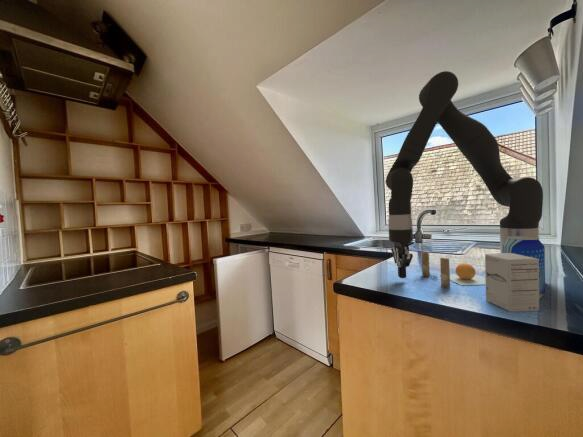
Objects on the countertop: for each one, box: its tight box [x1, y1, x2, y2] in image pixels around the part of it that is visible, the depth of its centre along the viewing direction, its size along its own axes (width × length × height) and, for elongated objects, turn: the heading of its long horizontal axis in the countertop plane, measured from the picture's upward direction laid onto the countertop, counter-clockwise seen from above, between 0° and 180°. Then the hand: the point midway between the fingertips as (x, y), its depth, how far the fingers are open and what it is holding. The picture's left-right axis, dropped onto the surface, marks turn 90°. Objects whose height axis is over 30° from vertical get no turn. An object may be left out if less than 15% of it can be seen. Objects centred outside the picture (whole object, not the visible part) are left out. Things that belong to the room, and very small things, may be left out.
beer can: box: [502, 236, 546, 299], centre depth 67 cm, size 8×8×16 cm
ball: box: [455, 262, 476, 280], centre depth 82 cm, size 6×6×6 cm
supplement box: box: [484, 253, 540, 313], centre depth 60 cm, size 7×7×13 cm
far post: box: [420, 250, 431, 278], centre depth 89 cm, size 2×2×9 cm
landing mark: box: [439, 273, 486, 287], centre depth 82 cm, size 12×12×1 cm
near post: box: [439, 257, 451, 289], centre depth 76 cm, size 2×2×9 cm
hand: (402, 277), depth 83 cm, fingers closed
